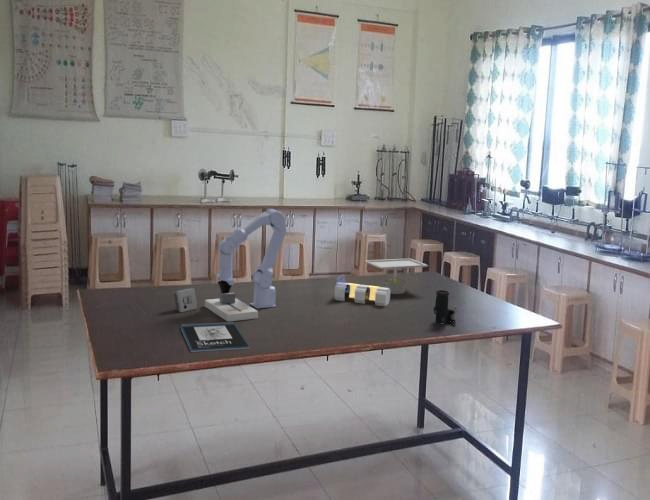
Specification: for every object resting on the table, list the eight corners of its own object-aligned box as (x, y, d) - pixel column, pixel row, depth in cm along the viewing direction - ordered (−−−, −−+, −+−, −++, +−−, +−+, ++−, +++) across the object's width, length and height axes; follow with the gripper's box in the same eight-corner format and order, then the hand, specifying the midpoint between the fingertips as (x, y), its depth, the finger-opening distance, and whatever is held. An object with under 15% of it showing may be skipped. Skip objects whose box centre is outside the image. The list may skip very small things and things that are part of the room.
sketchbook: (190, 354, 242) (191, 348, 241) (180, 328, 269) (180, 323, 269) (250, 349, 249) (250, 344, 248) (233, 325, 276) (233, 320, 276)
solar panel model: (408, 285, 360) (410, 258, 358) (425, 293, 345) (428, 265, 342) (362, 288, 349) (364, 260, 346) (378, 297, 333) (380, 267, 331)
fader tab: (232, 301, 299) (232, 292, 299) (235, 302, 297) (235, 293, 296) (219, 302, 296) (219, 293, 295) (222, 304, 294) (222, 294, 293)
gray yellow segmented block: (333, 300, 323) (335, 274, 321) (339, 296, 333) (341, 270, 330) (385, 307, 316) (386, 280, 314) (389, 302, 326) (391, 275, 323)
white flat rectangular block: (233, 303, 308) (234, 296, 307) (258, 318, 287) (258, 311, 286) (204, 306, 301) (205, 299, 300) (227, 321, 280) (227, 314, 279)
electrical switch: (180, 313, 289) (179, 291, 287) (173, 311, 292) (172, 290, 291) (197, 309, 296) (196, 288, 295) (190, 308, 299) (189, 287, 298)
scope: (459, 292, 293) (444, 295, 287) (456, 323, 296) (441, 326, 289) (445, 288, 299) (429, 290, 293) (442, 318, 302) (427, 321, 295)
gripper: (210, 264, 300) (210, 294, 303) (223, 271, 288) (222, 302, 290) (225, 263, 304) (224, 292, 306) (238, 270, 292) (238, 300, 294)
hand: (224, 297), depth 299 cm, fingers closed
